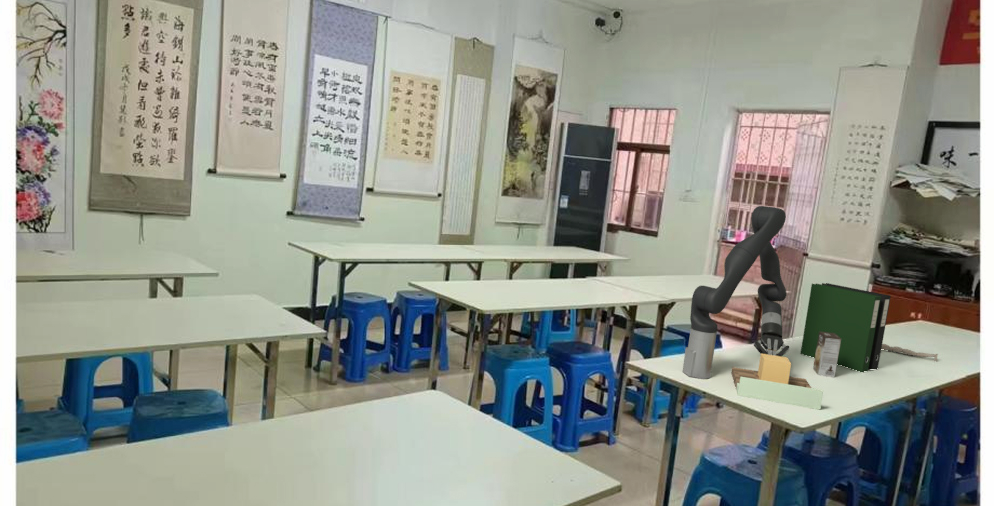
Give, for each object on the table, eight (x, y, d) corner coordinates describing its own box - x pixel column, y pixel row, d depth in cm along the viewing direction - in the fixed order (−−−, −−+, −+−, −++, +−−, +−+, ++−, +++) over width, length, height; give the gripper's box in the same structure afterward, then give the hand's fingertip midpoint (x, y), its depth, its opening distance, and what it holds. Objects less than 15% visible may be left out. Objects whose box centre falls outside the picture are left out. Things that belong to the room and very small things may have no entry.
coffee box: (812, 368, 271) (818, 330, 269) (828, 371, 270) (835, 333, 268) (818, 375, 262) (824, 336, 260) (835, 377, 261) (842, 338, 259)
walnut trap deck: (731, 373, 253) (732, 366, 252) (804, 385, 246) (805, 378, 246) (737, 394, 227) (738, 387, 226) (819, 408, 220) (820, 401, 220)
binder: (799, 354, 295) (810, 283, 291) (816, 351, 304) (827, 282, 300) (861, 372, 274) (875, 296, 269) (878, 369, 282) (891, 295, 278)
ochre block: (757, 374, 246) (760, 353, 245) (783, 378, 244) (786, 357, 243) (760, 381, 237) (764, 359, 236) (787, 385, 235) (791, 363, 234)
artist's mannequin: (937, 358, 319) (867, 345, 337) (938, 349, 319) (868, 337, 336) (935, 367, 297) (860, 353, 314) (936, 357, 297) (861, 344, 314)
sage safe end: (736, 389, 232) (738, 371, 232) (815, 403, 226) (819, 384, 225) (737, 395, 226) (740, 377, 225) (820, 409, 219) (823, 391, 219)
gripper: (755, 319, 254) (754, 358, 243) (792, 324, 250) (792, 364, 240) (751, 329, 259) (750, 368, 249) (787, 334, 256) (788, 374, 246)
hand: (771, 366), depth 245 cm, fingers closed
